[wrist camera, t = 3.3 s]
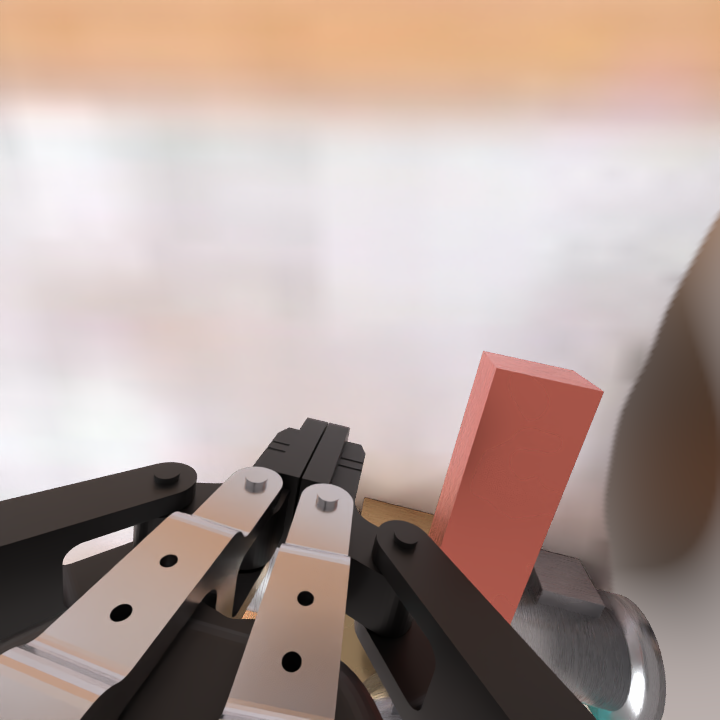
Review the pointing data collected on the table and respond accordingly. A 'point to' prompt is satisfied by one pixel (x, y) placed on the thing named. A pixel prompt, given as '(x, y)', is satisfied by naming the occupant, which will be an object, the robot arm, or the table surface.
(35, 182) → the table surface
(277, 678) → the robot arm
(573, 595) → the valve body
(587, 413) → the lever
